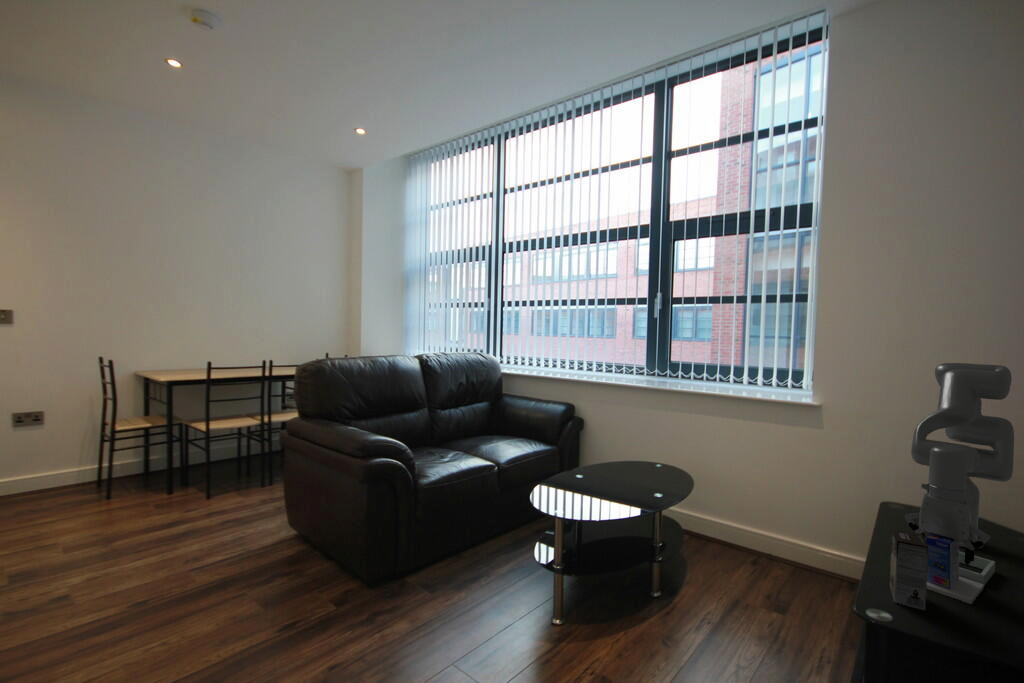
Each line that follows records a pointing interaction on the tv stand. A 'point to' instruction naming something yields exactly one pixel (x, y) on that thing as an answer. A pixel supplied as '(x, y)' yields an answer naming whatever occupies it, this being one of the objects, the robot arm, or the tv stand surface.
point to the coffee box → (909, 568)
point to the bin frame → (980, 563)
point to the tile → (959, 589)
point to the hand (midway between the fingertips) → (943, 555)
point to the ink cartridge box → (942, 560)
